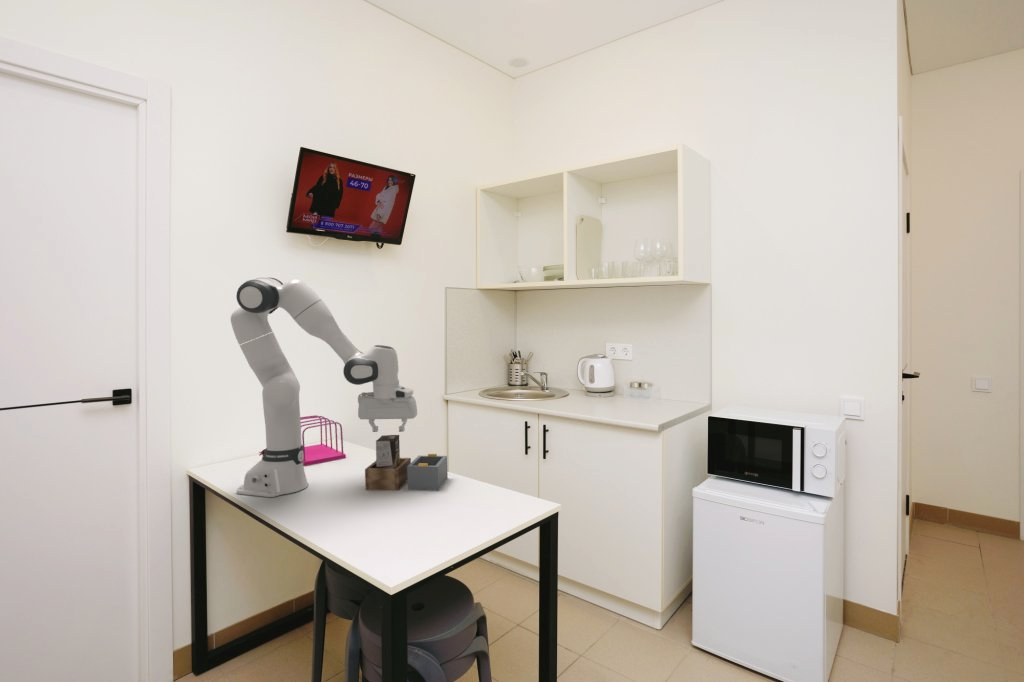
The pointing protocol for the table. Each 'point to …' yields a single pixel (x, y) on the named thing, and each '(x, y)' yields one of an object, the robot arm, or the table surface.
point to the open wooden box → (386, 476)
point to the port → (427, 472)
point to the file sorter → (321, 451)
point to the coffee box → (388, 452)
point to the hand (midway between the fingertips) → (388, 431)
